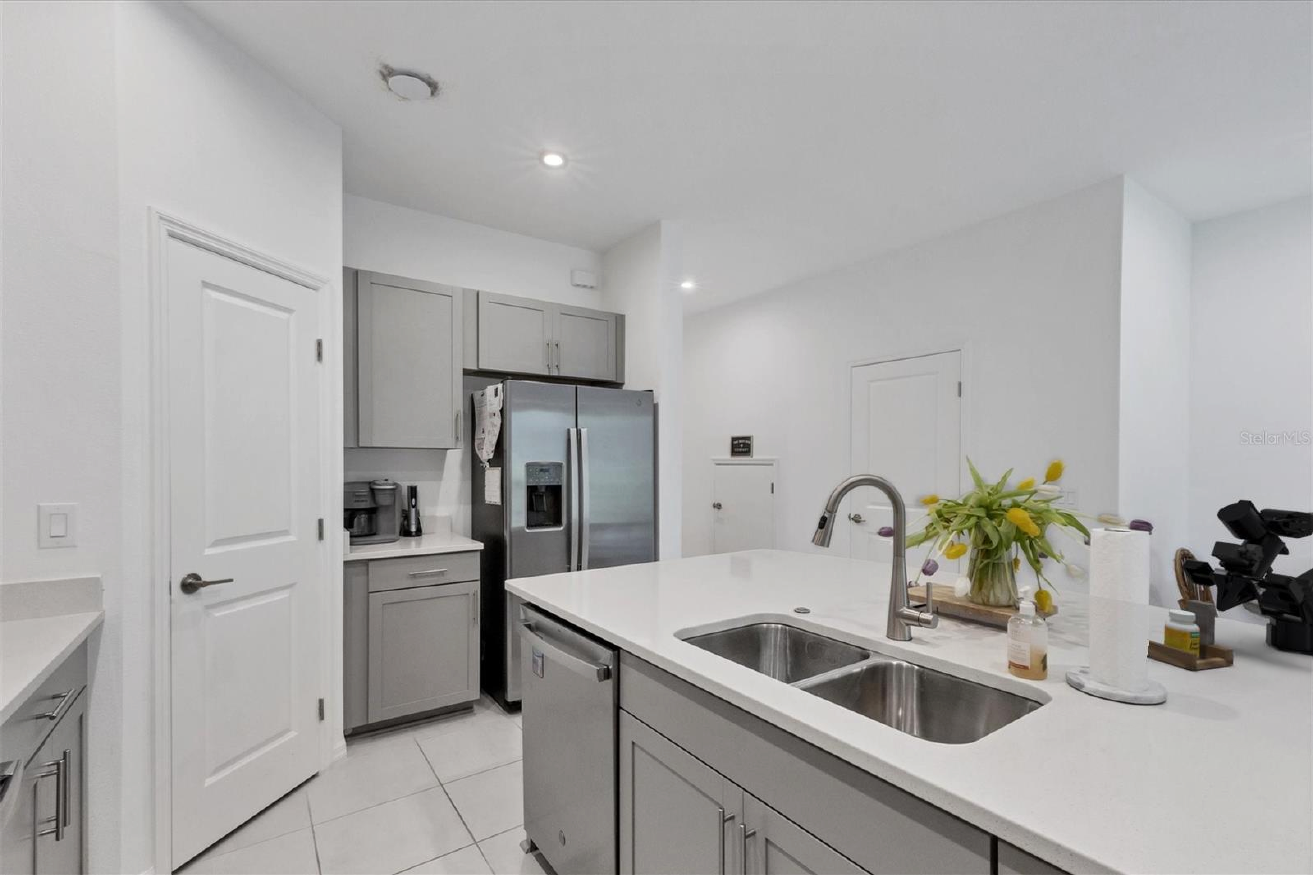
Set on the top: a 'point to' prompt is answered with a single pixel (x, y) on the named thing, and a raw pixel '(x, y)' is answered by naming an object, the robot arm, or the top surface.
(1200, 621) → the wooden display stand
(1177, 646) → the supplement bottle
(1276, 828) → the top surface
